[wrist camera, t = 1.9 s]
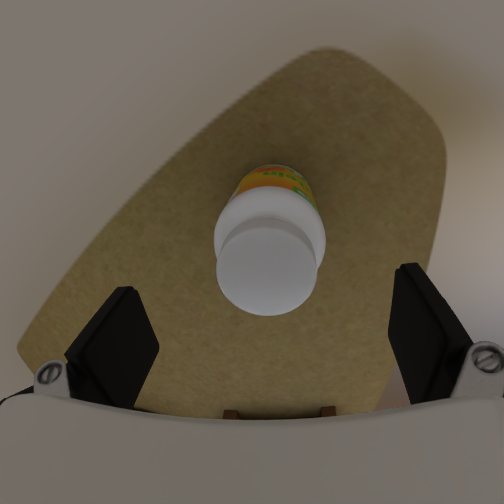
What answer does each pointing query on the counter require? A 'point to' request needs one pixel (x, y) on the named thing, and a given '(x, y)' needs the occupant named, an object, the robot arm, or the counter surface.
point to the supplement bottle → (269, 242)
